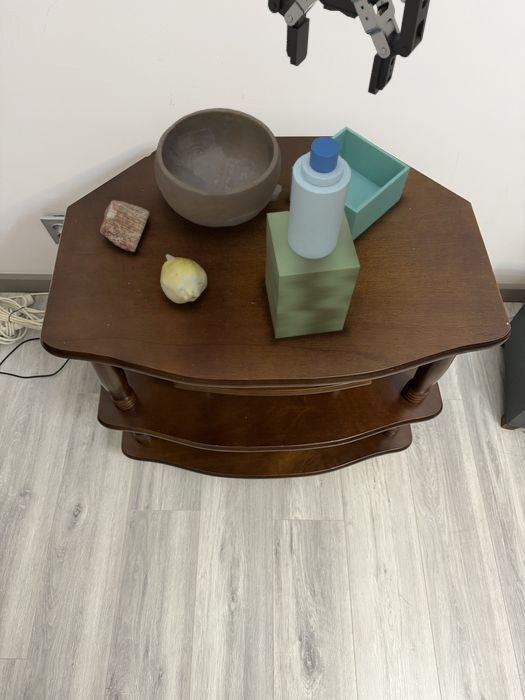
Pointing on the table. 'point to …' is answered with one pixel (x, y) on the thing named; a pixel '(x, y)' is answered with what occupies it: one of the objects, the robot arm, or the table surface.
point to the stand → (308, 282)
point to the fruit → (182, 279)
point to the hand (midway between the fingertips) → (335, 75)
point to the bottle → (318, 199)
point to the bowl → (218, 167)
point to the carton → (368, 180)
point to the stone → (124, 224)
